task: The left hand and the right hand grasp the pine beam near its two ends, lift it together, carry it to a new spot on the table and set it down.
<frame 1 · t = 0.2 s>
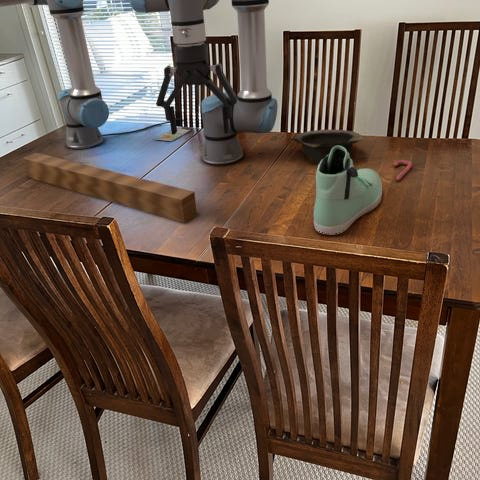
right hand: (200, 132, 122), 27 cm above the table, tool pointing down, fingers open, 13 cm apart
sneaker: (348, 208, 139), on the table
candy cane: (400, 172, 158), on the table
baking ingredient package: (172, 135, 206), on the table
stone bowl: (326, 155, 175), on the table
beam: (104, 194, 159), on the table
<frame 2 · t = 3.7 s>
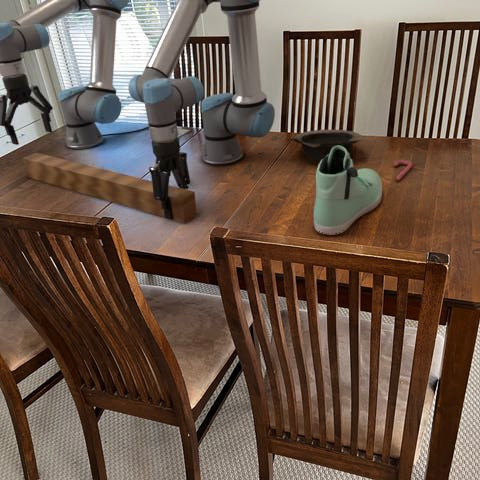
left hand: (32, 137, 168), 15 cm above the table, tool pointing down, fingers open, 13 cm apart
right hand: (176, 213, 143), 1 cm above the table, tool pointing down, fingers closed on beam, 6 cm apart
beam: (104, 194, 159), on the table, touching right hand
everything else where it was.
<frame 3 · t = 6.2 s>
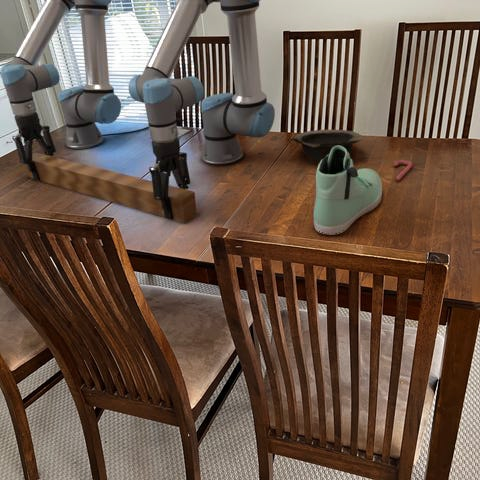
left hand: (44, 176, 175), 0 cm above the table, tool pointing down, fingers closed on beam, 6 cm apart
right hand: (176, 213, 143), 1 cm above the table, tool pointing down, fingers closed on beam, 6 cm apart
beam: (104, 194, 159), on the table, touching left hand, right hand
everything else where it was.
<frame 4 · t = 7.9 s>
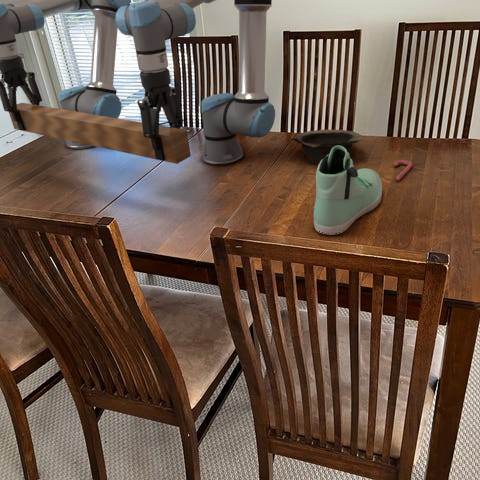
left hand: (30, 126, 166), 19 cm above the table, tool pointing down, fingers closed on beam, 6 cm apart
right hand: (168, 155, 134), 19 cm above the table, tool pointing down, fingers closed on beam, 6 cm apart
beam: (92, 141, 150), point 18 cm above the table, touching left hand, right hand
everything else where it was.
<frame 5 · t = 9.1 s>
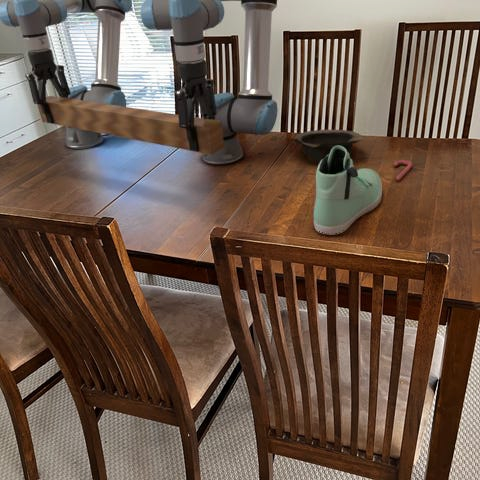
left hand: (58, 119, 167), 20 cm above the table, tool pointing down, fingers closed on beam, 6 cm apart
right hand: (201, 146, 135), 20 cm above the table, tool pointing down, fingers closed on beam, 6 cm apart
beam: (123, 133, 152), point 19 cm above the table, touching left hand, right hand
everything else where it was.
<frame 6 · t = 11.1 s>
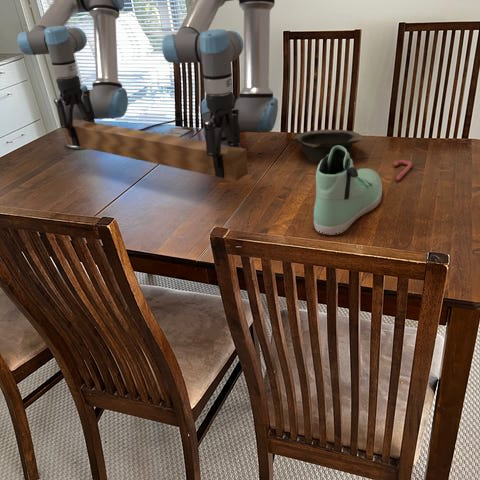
left hand: (83, 142, 173), 11 cm above the table, tool pointing down, fingers closed on beam, 6 cm apart
right hand: (226, 172, 141), 11 cm above the table, tool pointing down, fingers closed on beam, 6 cm apart
beam: (147, 157, 157), point 10 cm above the table, touching left hand, right hand
everything else where it was.
when the left hand's fingers open (2 cm above the table, at t = 12.5 s): beam drops 1 cm, on the table.
when the right hand's fingers open (2 cm above the table, at t = 12.5 s): beam drops 1 cm, on the table.
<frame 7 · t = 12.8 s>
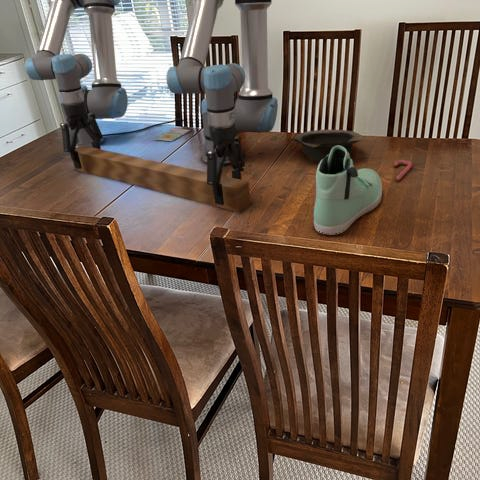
left hand: (88, 163, 177), 3 cm above the table, tool pointing down, fingers open, 9 cm apart
right hand: (228, 197, 145), 3 cm above the table, tool pointing down, fingers open, 9 cm apart
beam: (153, 185, 163), on the table
everything else where it was.
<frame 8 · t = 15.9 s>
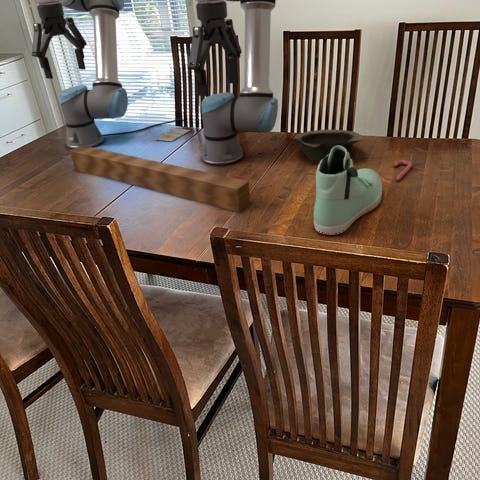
left hand: (66, 73, 161), 35 cm above the table, tool pointing down, fingers open, 13 cm apart
right hand: (218, 89, 128), 35 cm above the table, tool pointing down, fingers open, 13 cm apart
nothing on the table moved.
at the end: beam inside the target area (0.1 cm from its centre), on the table; beam tilted 0°; beam never tilted more than 2° during the clip; both hands held the beam at the same time; the left hand is holding nothing; the right hand is holding nothing; beam at rest at the end (0.0 cm/s) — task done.
